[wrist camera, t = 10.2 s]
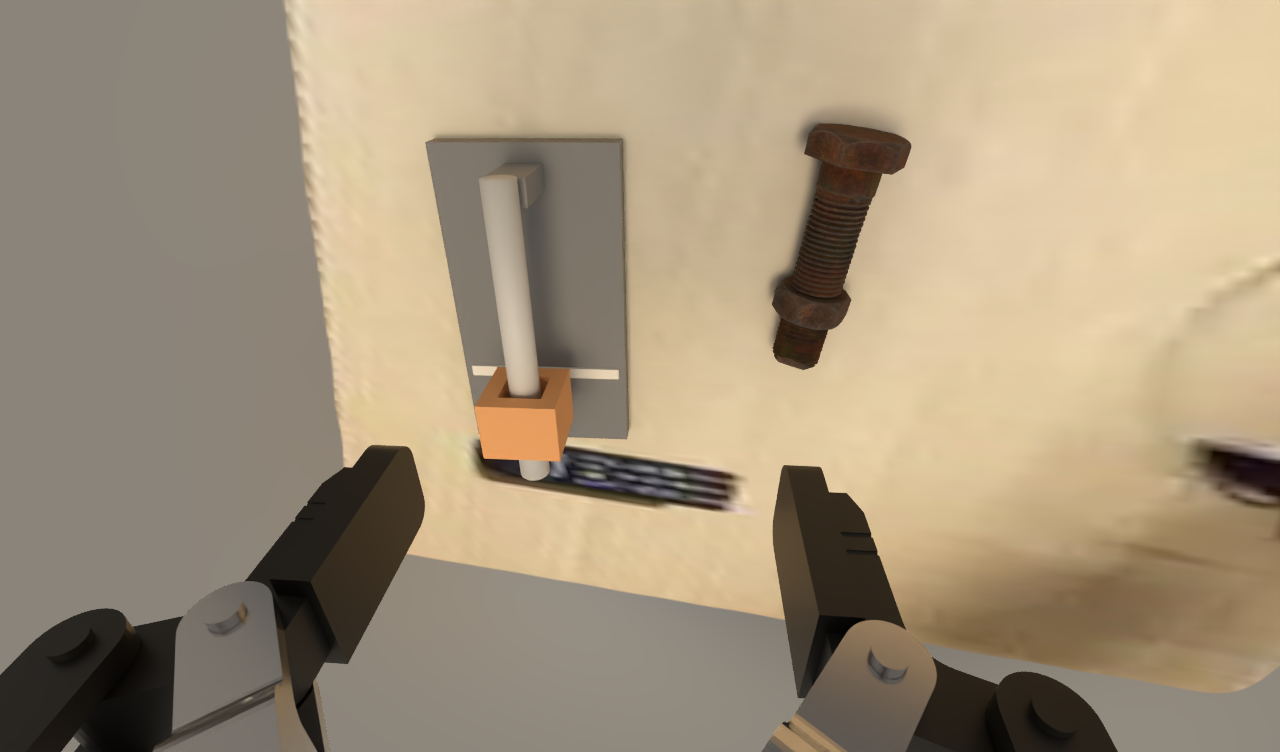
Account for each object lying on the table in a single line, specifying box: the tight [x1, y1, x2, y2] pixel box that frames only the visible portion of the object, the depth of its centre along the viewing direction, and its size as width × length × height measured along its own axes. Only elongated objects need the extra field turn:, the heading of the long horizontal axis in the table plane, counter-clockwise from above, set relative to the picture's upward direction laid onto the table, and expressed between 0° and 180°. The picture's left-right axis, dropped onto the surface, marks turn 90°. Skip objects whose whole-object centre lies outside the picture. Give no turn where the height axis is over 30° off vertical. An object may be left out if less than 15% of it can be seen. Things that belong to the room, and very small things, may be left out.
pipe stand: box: [425, 139, 629, 480], centre depth 38 cm, size 22×12×8 cm, turn 1°
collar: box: [475, 367, 574, 461], centre depth 38 cm, size 4×5×5 cm
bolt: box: [772, 124, 911, 370], centre depth 37 cm, size 6×5×15 cm
